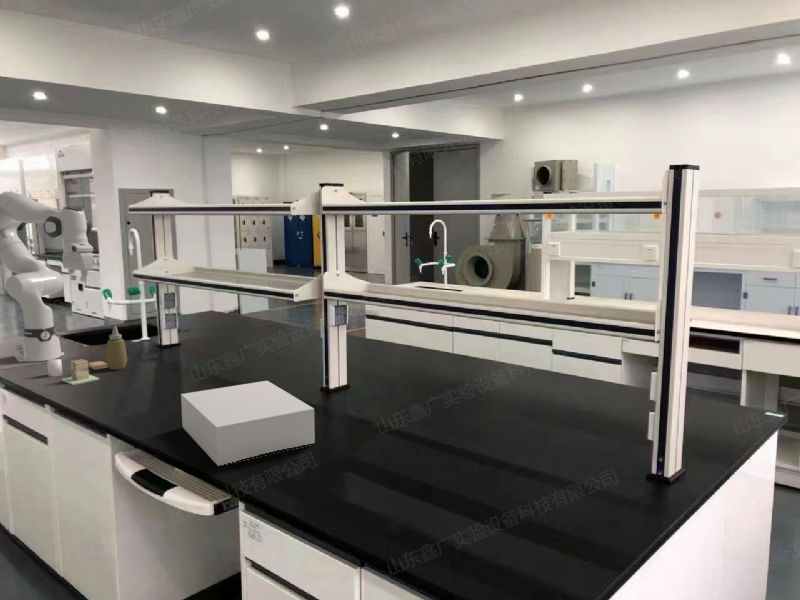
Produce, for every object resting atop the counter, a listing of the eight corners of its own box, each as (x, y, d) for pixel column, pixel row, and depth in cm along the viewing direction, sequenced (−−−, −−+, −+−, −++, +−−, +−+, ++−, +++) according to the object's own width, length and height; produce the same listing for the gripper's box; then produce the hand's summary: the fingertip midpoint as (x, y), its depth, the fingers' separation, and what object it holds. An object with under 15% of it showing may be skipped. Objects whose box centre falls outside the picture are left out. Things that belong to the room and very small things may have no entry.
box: (268, 412, 203) (267, 380, 202) (314, 445, 174) (314, 408, 173) (182, 428, 188) (181, 394, 187) (218, 467, 159) (216, 427, 158)
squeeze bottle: (102, 369, 257) (99, 327, 254) (119, 365, 264) (116, 324, 261) (115, 371, 253) (112, 328, 251) (132, 367, 260) (129, 325, 258)
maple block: (72, 378, 240) (70, 361, 239) (84, 376, 243) (82, 359, 242) (77, 380, 237) (75, 363, 236) (89, 378, 241) (87, 361, 240)
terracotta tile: (88, 367, 262) (88, 363, 261) (100, 365, 265) (100, 361, 265) (95, 370, 257) (94, 365, 257) (107, 368, 261) (107, 363, 260)
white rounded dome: (46, 375, 248) (45, 360, 247) (59, 372, 252) (58, 358, 251) (51, 377, 245) (50, 362, 244) (64, 374, 248) (63, 360, 248)
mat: (61, 380, 240) (61, 379, 240) (88, 375, 247) (87, 374, 247) (72, 385, 233) (72, 383, 233) (99, 379, 241) (99, 378, 241)
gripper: (57, 246, 255) (59, 279, 257) (79, 248, 242) (81, 283, 244) (73, 245, 260) (75, 278, 262) (95, 247, 247) (97, 281, 249)
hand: (78, 280), depth 253 cm, fingers open, 8 cm apart
